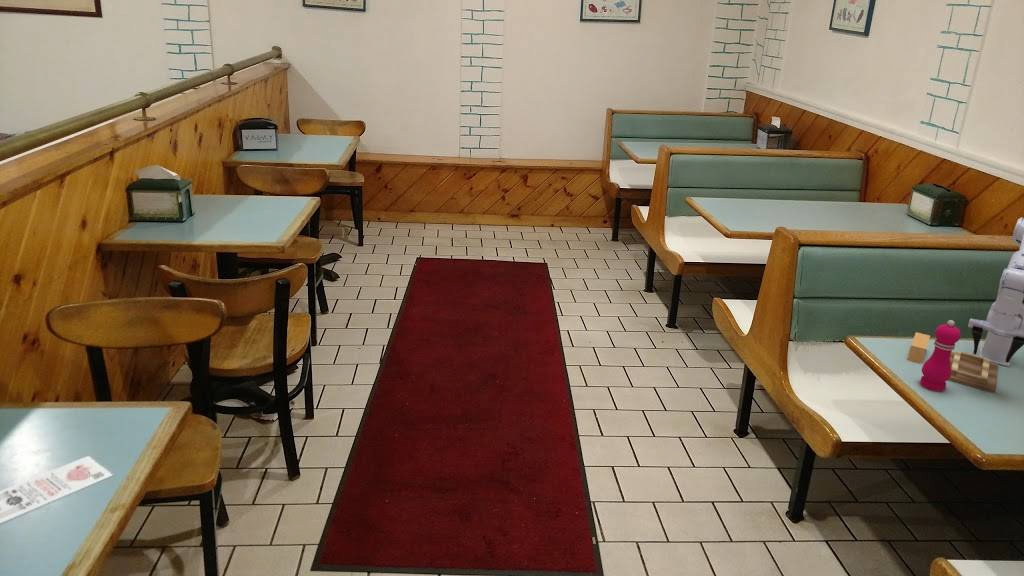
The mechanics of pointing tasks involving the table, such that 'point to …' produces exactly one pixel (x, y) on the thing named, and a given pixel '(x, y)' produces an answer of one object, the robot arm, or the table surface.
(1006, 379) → the table surface
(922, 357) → the tan block
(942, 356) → the pepper mill
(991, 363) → the jig
